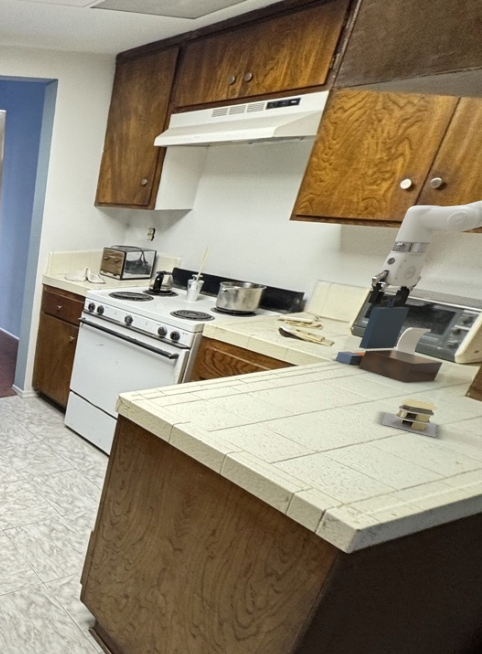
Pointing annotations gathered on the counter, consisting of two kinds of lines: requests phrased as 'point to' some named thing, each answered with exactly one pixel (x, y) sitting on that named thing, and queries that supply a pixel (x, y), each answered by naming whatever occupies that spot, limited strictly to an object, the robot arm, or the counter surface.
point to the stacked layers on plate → (413, 417)
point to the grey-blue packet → (349, 357)
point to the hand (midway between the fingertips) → (386, 303)
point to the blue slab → (384, 325)
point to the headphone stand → (410, 339)
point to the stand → (400, 365)
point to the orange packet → (360, 354)
